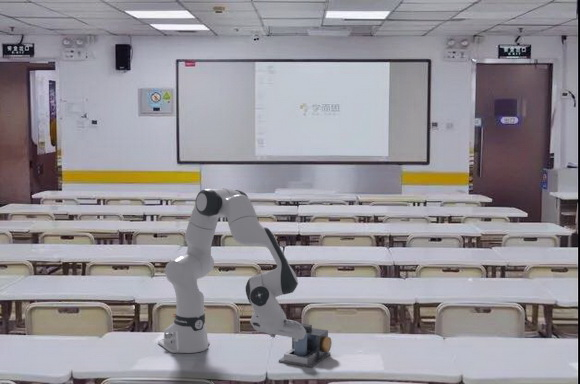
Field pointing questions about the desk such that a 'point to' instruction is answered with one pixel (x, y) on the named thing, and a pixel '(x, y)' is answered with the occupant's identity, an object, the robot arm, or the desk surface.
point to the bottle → (301, 347)
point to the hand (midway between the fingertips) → (284, 337)
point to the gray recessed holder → (310, 348)
